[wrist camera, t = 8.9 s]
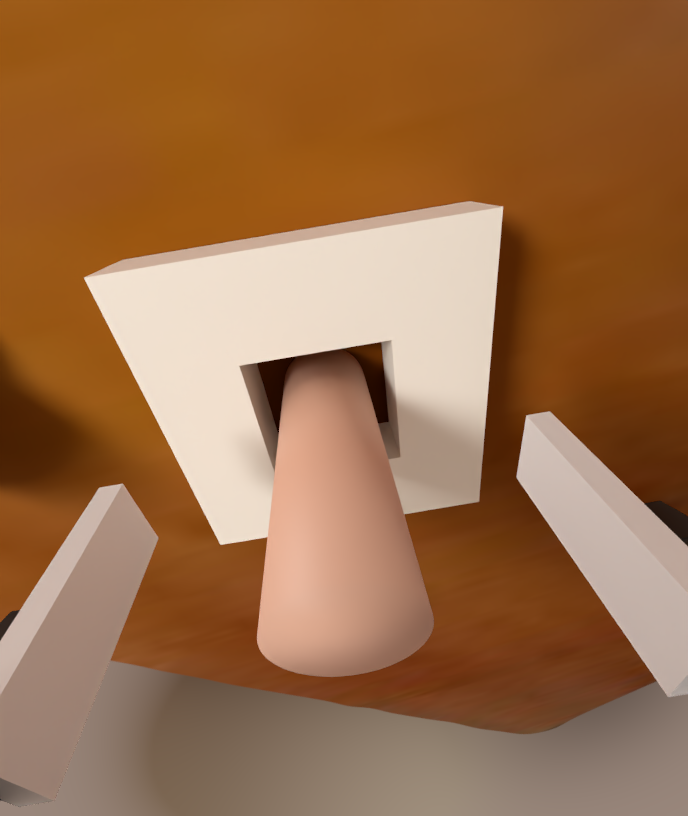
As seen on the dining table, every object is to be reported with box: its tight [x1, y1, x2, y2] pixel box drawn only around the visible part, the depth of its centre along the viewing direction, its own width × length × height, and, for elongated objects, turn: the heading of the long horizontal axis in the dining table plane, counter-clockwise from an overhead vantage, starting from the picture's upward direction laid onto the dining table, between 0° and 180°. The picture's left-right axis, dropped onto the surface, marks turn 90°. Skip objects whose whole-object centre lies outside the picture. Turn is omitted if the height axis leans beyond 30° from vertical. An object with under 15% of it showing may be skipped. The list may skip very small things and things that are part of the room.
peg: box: [257, 349, 434, 677], centre depth 13 cm, size 4×4×12 cm
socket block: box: [84, 201, 503, 545], centre depth 17 cm, size 14×14×3 cm
